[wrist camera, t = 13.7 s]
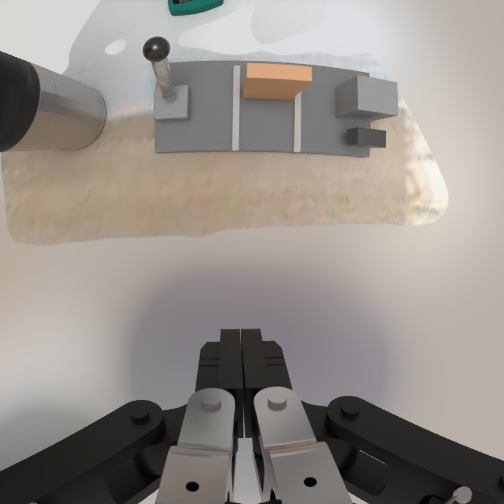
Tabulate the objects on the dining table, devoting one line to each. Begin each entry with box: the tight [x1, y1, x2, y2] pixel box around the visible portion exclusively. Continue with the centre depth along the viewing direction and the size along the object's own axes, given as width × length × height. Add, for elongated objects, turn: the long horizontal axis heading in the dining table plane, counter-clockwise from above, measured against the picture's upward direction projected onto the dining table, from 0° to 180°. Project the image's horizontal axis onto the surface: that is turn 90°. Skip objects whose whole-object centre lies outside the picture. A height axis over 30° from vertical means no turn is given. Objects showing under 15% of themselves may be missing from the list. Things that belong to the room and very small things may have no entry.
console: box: [154, 61, 398, 157], centre depth 35 cm, size 28×12×10 cm, turn 89°
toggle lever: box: [143, 37, 175, 101], centre depth 28 cm, size 3×3×10 cm
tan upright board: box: [243, 63, 312, 100], centre depth 31 cm, size 6×2×11 cm, turn 89°
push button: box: [347, 127, 386, 148], centre depth 35 cm, size 4×2×4 cm, turn 89°
